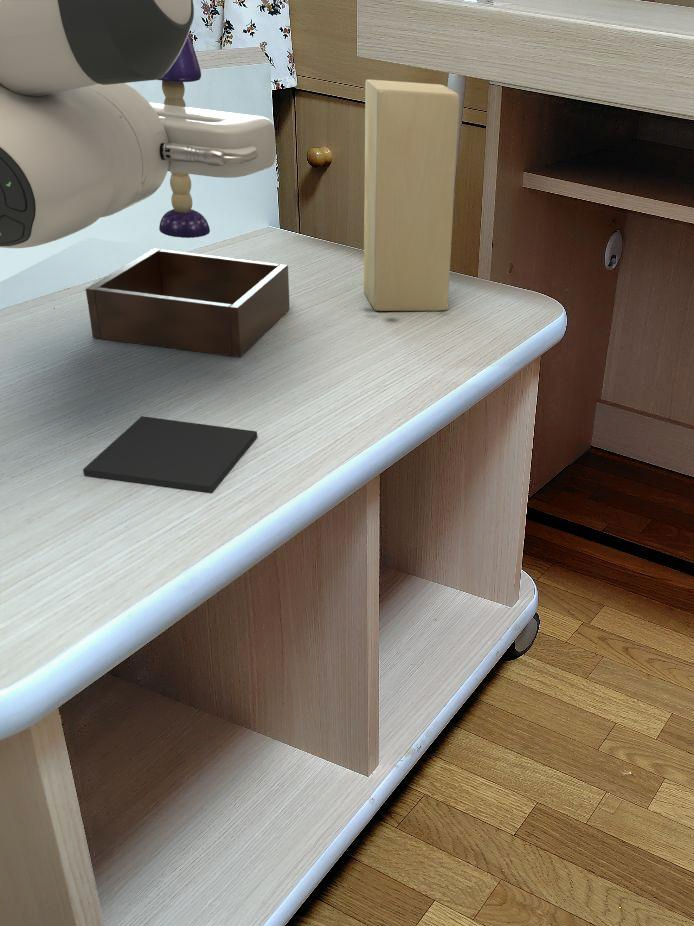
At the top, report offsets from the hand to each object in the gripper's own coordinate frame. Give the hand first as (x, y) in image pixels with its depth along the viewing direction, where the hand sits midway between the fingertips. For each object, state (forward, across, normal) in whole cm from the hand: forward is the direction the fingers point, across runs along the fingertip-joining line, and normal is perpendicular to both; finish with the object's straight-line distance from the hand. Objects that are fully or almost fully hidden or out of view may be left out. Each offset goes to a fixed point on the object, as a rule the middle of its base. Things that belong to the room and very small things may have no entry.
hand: (179, 117), depth 83 cm
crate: (+1, +1, +18) cm, 19 cm away
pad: (-25, -8, +18) cm, 32 cm away
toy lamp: (-1, 0, +10) cm, 10 cm away
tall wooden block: (+15, -16, +19) cm, 29 cm away
